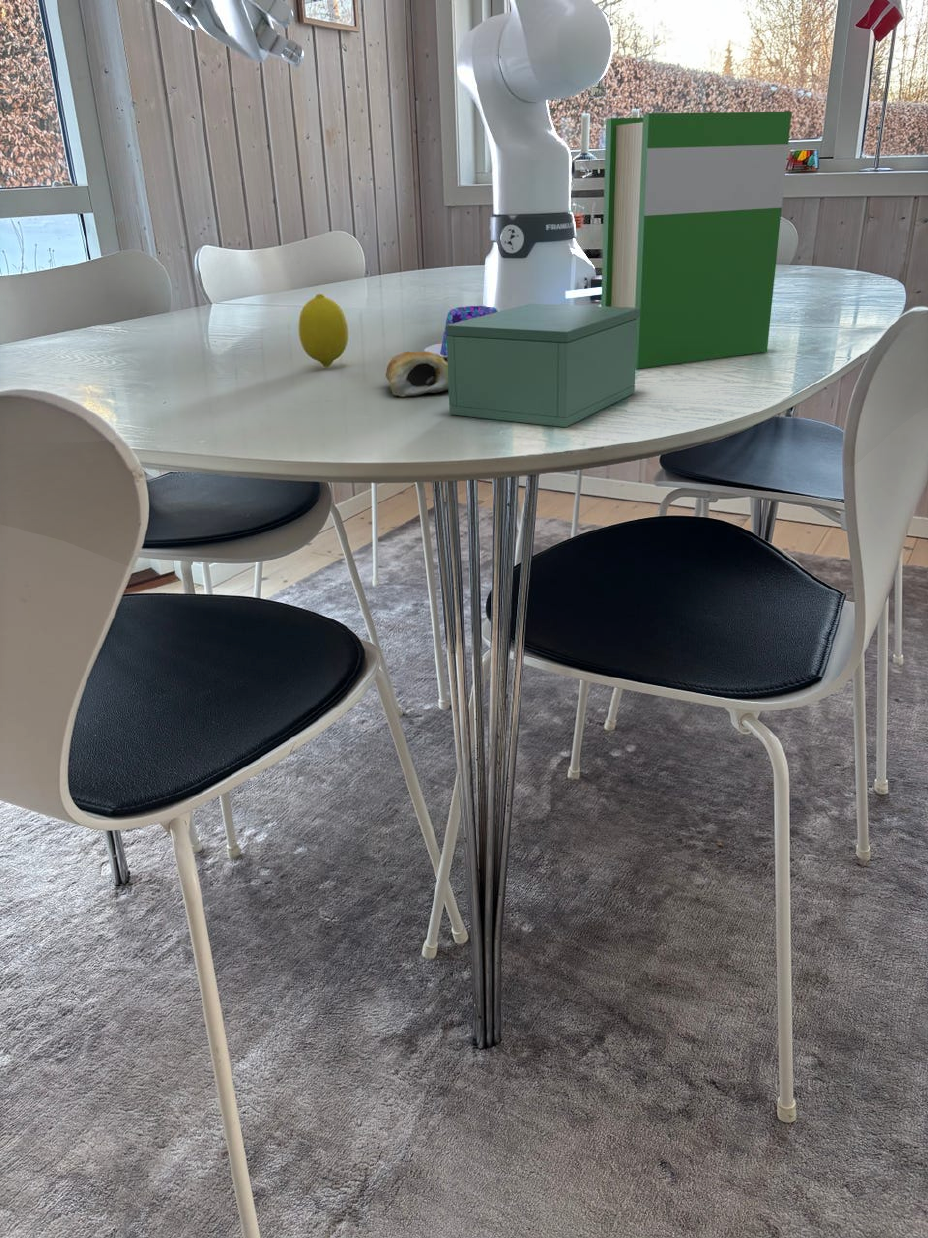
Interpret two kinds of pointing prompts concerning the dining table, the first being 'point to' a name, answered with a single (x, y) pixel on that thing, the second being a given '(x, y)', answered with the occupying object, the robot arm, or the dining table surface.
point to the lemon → (323, 329)
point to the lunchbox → (541, 376)
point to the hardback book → (694, 230)
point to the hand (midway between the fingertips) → (295, 39)
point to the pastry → (417, 373)
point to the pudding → (458, 316)
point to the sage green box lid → (544, 322)
